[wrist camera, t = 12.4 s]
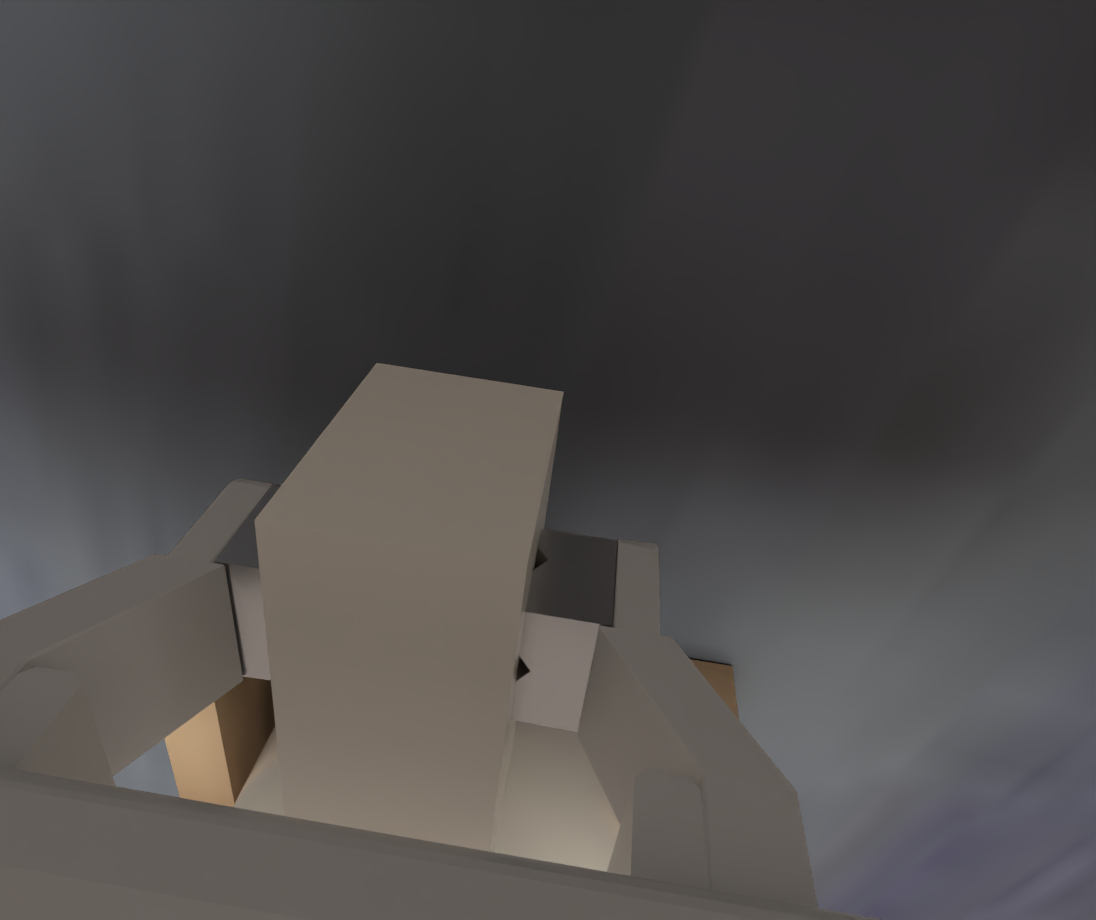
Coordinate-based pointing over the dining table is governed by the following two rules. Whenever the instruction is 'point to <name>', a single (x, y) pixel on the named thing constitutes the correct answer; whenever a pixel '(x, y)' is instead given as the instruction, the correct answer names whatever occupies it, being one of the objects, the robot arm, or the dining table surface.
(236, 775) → the cradle
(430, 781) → the white bar with bulge
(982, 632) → the dining table surface
